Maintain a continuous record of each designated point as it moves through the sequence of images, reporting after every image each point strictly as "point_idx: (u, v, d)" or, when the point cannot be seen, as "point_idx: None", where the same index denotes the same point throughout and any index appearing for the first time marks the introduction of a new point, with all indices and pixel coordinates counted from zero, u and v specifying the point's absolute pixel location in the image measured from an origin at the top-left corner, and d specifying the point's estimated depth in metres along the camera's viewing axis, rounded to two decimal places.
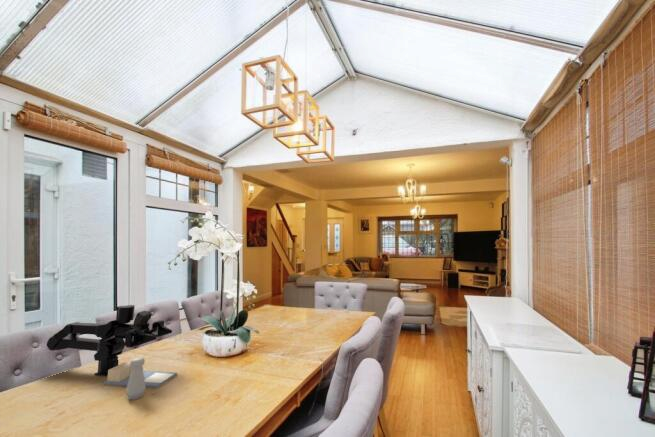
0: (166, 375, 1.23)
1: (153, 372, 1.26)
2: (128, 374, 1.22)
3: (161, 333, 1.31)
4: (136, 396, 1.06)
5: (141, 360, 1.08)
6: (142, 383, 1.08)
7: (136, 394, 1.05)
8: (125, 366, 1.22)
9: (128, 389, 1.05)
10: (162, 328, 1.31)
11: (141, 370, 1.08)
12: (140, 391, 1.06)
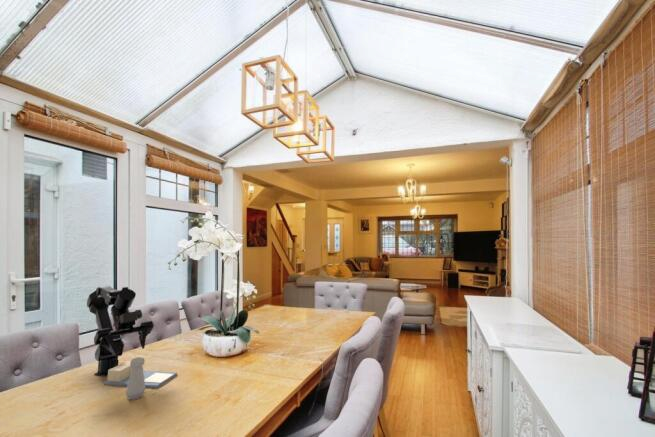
0: (166, 375, 1.23)
1: (153, 372, 1.26)
2: (128, 374, 1.22)
3: (140, 338, 1.21)
4: (136, 396, 1.06)
5: (141, 360, 1.08)
6: (142, 383, 1.08)
7: (136, 394, 1.05)
8: (125, 366, 1.22)
9: (128, 389, 1.05)
10: (142, 336, 1.20)
11: (141, 370, 1.08)
12: (140, 391, 1.06)
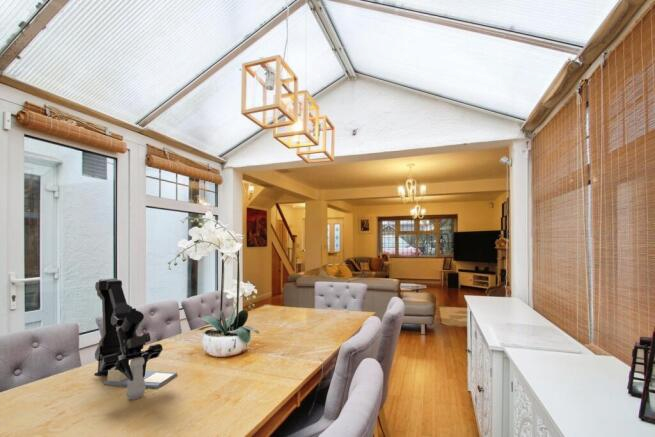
0: (166, 375, 1.23)
1: (153, 372, 1.26)
2: None
3: None
4: (136, 396, 1.06)
5: (141, 360, 1.08)
6: (142, 383, 1.08)
7: (136, 394, 1.05)
8: None
9: (128, 389, 1.05)
10: None
11: (141, 370, 1.08)
12: (140, 391, 1.06)
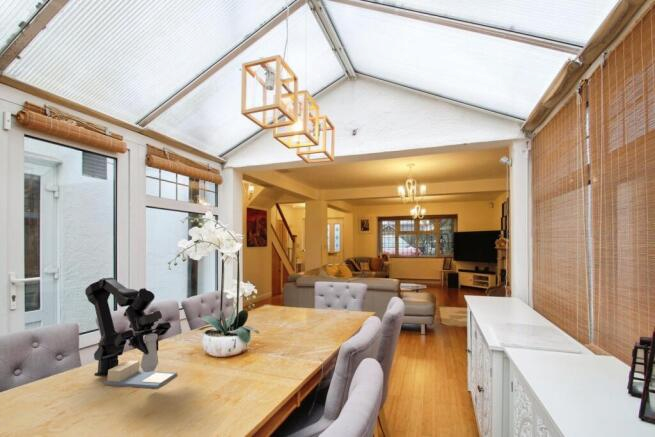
0: (166, 375, 1.23)
1: (153, 372, 1.26)
2: (128, 374, 1.22)
3: None
4: (151, 368, 1.13)
5: (155, 335, 1.15)
6: (156, 357, 1.15)
7: (152, 366, 1.13)
8: (125, 366, 1.22)
9: (143, 362, 1.12)
10: None
11: (155, 345, 1.15)
12: (155, 364, 1.14)
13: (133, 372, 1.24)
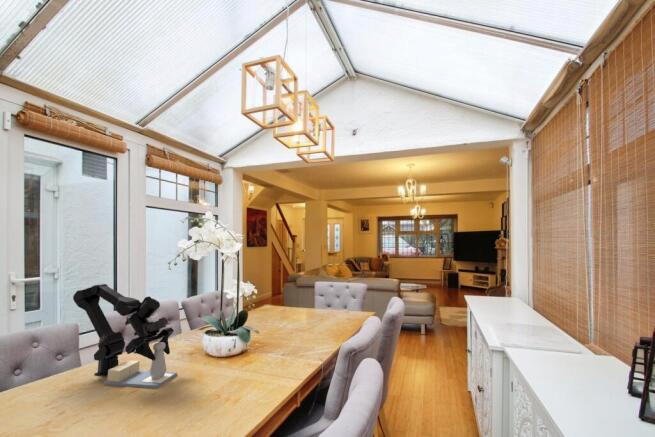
0: (166, 375, 1.23)
1: None
2: (128, 374, 1.22)
3: None
4: (161, 375, 1.20)
5: (164, 344, 1.22)
6: (165, 364, 1.22)
7: (162, 373, 1.19)
8: (125, 366, 1.22)
9: (154, 370, 1.18)
10: None
11: (163, 353, 1.22)
12: (164, 371, 1.21)
13: (133, 372, 1.24)
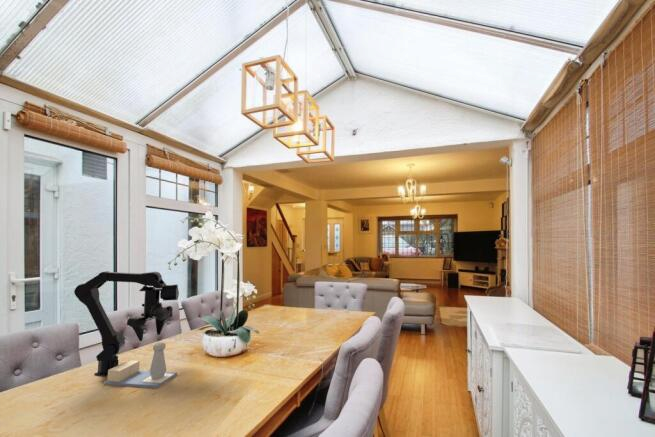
0: (166, 375, 1.23)
1: None
2: (128, 374, 1.22)
3: (157, 323, 1.39)
4: (161, 375, 1.19)
5: (164, 344, 1.22)
6: (165, 364, 1.22)
7: (162, 374, 1.19)
8: (125, 366, 1.22)
9: (154, 370, 1.18)
10: (161, 324, 1.38)
11: (163, 353, 1.22)
12: (164, 371, 1.21)
13: (133, 372, 1.24)
